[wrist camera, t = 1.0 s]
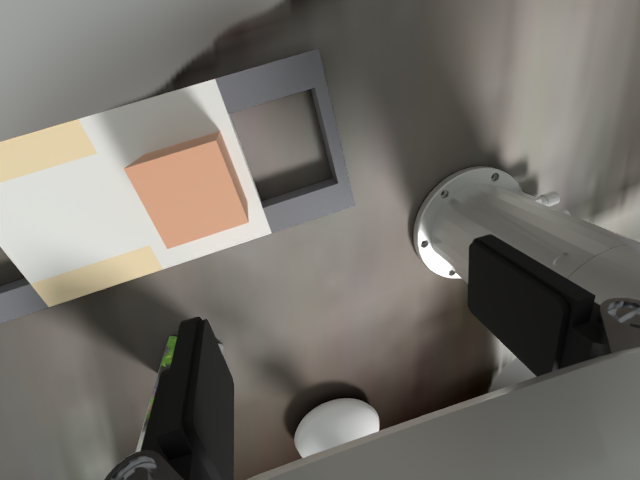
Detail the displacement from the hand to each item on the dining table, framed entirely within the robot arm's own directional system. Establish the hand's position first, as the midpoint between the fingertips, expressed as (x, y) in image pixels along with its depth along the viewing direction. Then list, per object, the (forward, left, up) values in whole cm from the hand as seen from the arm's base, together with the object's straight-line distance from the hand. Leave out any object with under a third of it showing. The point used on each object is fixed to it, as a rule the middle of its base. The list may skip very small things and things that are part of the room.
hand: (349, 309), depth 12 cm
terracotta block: (+7, -2, -19) cm, 20 cm away
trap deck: (+13, -2, -21) cm, 25 cm away
